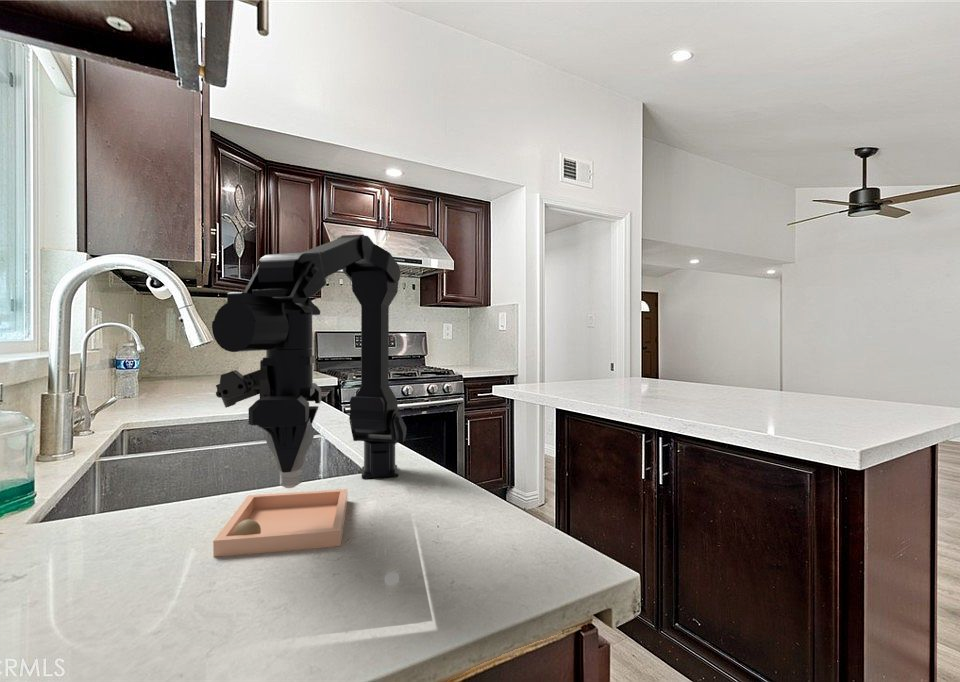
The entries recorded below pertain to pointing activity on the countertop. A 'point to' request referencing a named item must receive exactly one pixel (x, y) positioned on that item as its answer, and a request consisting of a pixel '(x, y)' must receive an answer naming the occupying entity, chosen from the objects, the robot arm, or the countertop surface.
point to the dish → (286, 522)
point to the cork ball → (247, 528)
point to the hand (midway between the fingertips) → (290, 465)
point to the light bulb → (294, 476)
